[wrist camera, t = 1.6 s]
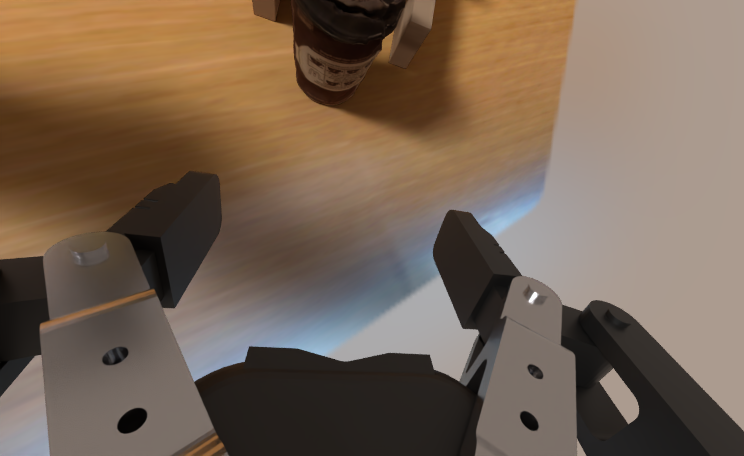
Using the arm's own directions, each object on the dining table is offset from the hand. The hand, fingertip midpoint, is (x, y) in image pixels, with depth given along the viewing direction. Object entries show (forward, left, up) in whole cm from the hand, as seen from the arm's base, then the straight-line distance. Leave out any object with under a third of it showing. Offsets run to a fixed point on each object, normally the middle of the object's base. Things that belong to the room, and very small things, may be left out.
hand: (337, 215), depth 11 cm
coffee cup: (-1, +17, -19) cm, 25 cm away
